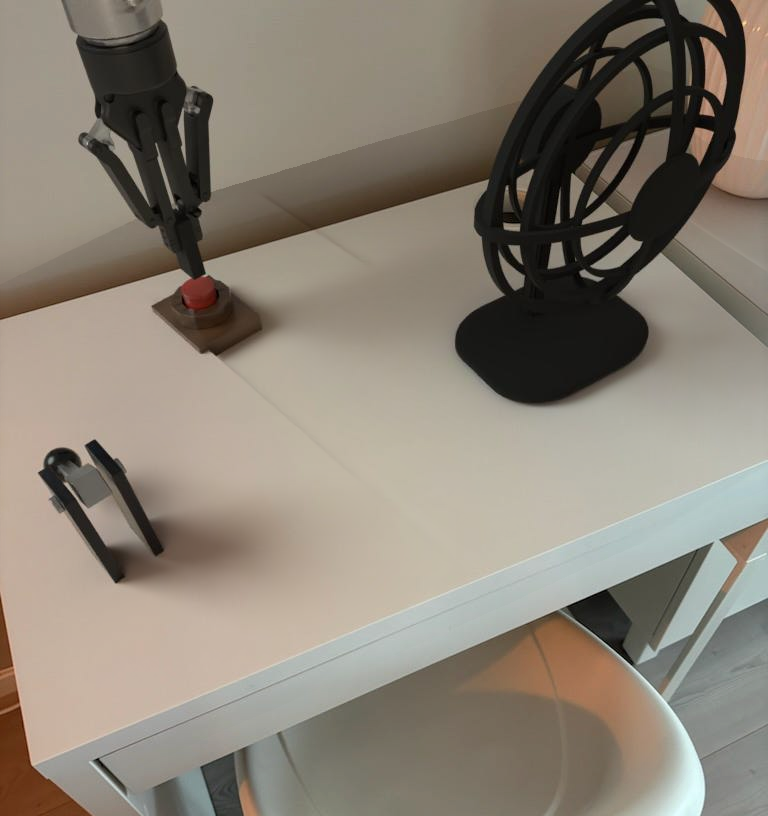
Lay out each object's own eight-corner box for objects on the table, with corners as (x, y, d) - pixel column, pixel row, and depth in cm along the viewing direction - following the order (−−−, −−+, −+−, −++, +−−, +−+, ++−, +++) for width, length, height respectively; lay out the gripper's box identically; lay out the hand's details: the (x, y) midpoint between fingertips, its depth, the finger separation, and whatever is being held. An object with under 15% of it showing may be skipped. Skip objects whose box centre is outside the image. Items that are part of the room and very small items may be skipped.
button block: (156, 321, 87) (145, 292, 84) (213, 289, 90) (205, 261, 87) (204, 363, 82) (194, 335, 79) (262, 329, 85) (256, 301, 82)
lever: (53, 486, 68) (32, 456, 67) (84, 467, 70) (65, 438, 68) (85, 516, 58) (61, 483, 56) (122, 494, 59) (99, 460, 58)
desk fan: (503, 453, 73) (553, 73, 45) (405, 351, 82) (394, -18, 54) (704, 344, 81) (856, -40, 52) (594, 262, 90) (672, -103, 61)
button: (178, 299, 83) (174, 286, 82) (205, 285, 85) (202, 272, 83) (196, 314, 82) (192, 301, 80) (223, 299, 83) (220, 286, 82)
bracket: (57, 548, 69) (-9, 458, 59) (141, 494, 72) (93, 400, 62) (122, 634, 63) (63, 553, 53) (211, 572, 67) (171, 483, 56)
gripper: (69, 68, 57) (159, 316, 76) (211, 13, 62) (262, 259, 81) (25, 39, 60) (122, 283, 80) (163, -10, 65) (223, 231, 84)
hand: (193, 271), depth 80 cm, fingers closed
